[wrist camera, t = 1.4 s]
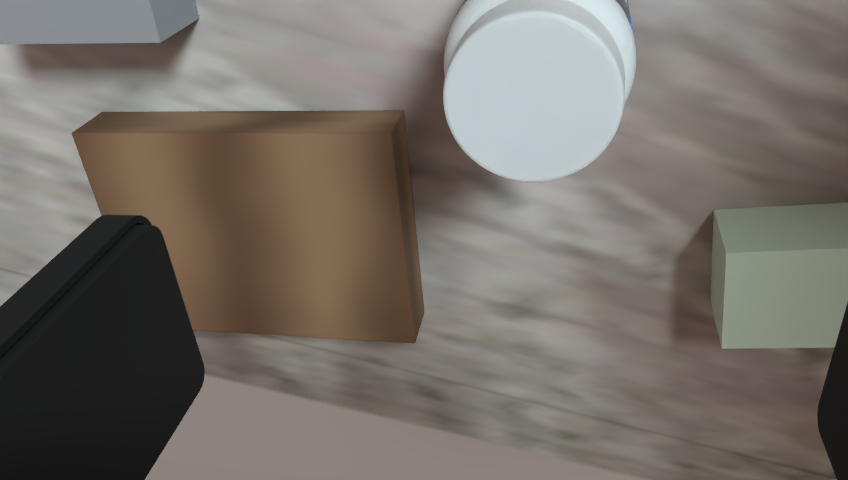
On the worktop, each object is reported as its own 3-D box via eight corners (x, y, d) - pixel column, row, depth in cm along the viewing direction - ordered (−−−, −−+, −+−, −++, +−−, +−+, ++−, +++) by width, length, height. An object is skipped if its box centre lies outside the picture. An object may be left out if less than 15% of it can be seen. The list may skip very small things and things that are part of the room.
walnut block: (403, 110, 25) (391, 133, 24) (424, 312, 30) (414, 343, 29) (101, 112, 28) (71, 133, 26) (164, 298, 33) (142, 326, 31)
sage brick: (904, 196, 24) (940, 244, 22) (885, 292, 26) (917, 347, 24) (712, 206, 26) (726, 253, 23) (709, 297, 28) (721, 348, 25)
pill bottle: (651, 31, 22) (682, 145, 16) (520, 101, 24) (494, 230, 18) (581, -110, 21) (579, -54, 14) (445, -22, 23) (384, 66, 16)
